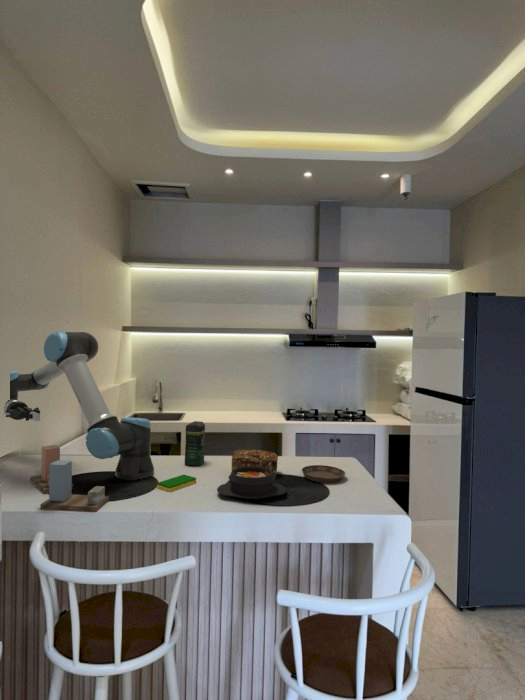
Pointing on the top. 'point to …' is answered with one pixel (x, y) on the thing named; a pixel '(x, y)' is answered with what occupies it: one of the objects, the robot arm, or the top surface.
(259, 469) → the casserole
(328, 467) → the plant saucer
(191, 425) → the coffee jar
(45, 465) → the terracotta tall block
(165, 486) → the dish sponge
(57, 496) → the slate blue block
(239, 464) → the bread
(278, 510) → the top surface
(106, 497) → the wooden board with block
